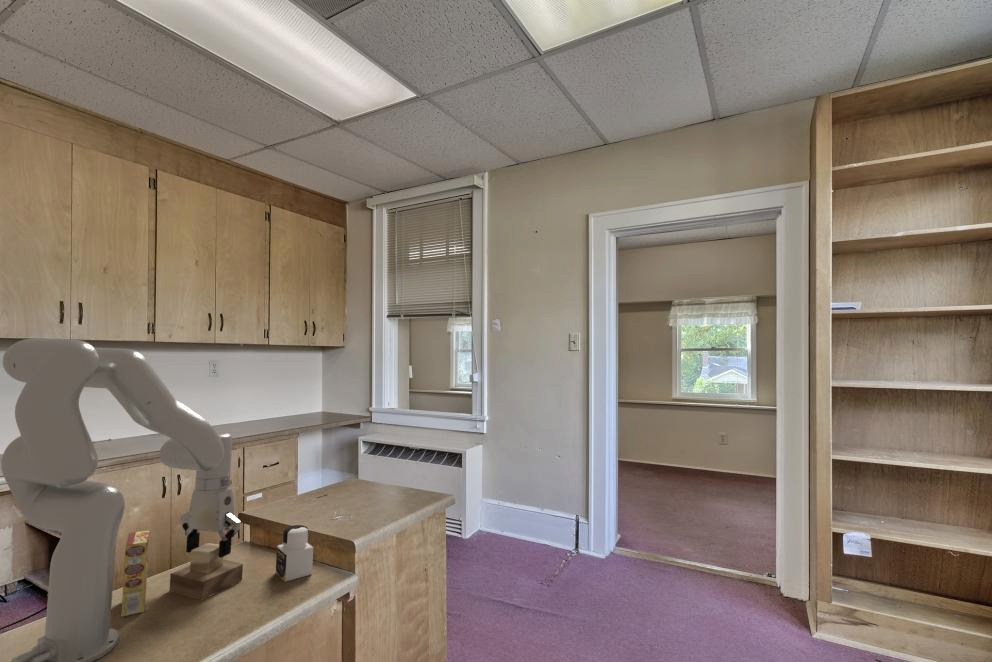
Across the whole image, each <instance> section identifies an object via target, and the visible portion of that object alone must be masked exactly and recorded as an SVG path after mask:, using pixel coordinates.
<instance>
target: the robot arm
mask: <svg viewBox="0 0 992 662" xmlns="http://www.w3.org/2000/svg"><path fill="white" fill-rule="evenodd" d="M2 367H3V368H4V369H3V370H4V371H5V373H6V374H7V375H8V376H9V377H10V378H12V379H14V380H16V381H18V382H21V383H24V387H23V388H22V390H21V392H20V393H19V395H18V397H17V400H16V403H15V407H14V417H15V418H14V419H15V422H16V426H17V428H18V431H19V434H20V435H19V436H18V437H16V438H15V439H13V440H12V441H11V442H10V443H9V444H8V446H7V447H6V448H5V450H4V452H3V454H2V456H1V460H0V461H1V463H0V464H1V466H0V467H1V472H2V474H3V478H4V480H5V483H6V484H7V486H8V488H9V490H10V492H11V494H12V496H13V498H14V500H15V502H16V504H17V507H18V508H19V510H20V512H21V514H22V515H23V517H24V518H25V520H27V521H28V523H30V524H31V525H32V526H35V527H36V528H39V529H44V530H50V531H55V532H59V533H61V536H60V539H59V542H58V543H57V545H56V547H55V549H54V551H53V553H52V556H51V561H50V566H49V580H48V581H49V582H48V591H47V594H48V595H47V603H46V604H47V605H46V618H45V629H44V635H43V636H41V637H39V638H38V639H37V643H36V645H35V646H33V647H32V649H31V650H29V651H27V652H24V653H21V654H19V655H18V656H16V657H14V658H12V659H11V661H10V662H94V661H96V660H98V659H100V658H102V657H104V656H105V655H107V654H108V653H109V652H111V651H112V650H114V648H116V647H117V645H118V643H119V641H120V633H119V632H118V631H117V630H116V629H114V628H111V616H112V614H111V613H112V602H113V588H114V577H115V576H114V575H115V560H116V548H117V542H118V541H117V539H118V535H119V529H120V525H121V524H122V519H123V517H124V513H125V509H126V501H125V497H124V495H123V493H122V492H121V491H120V490H119V489H118V488H117V487H115V486H113V485H111V484H109V483H106V482H105V483H104V482H101V481H94V480H93V481H92V480H88V479H90V478H91V477H92V476H93V475H94V474H95V472H96V470H97V468H98V463H99V457H98V453H97V451H96V448H95V445H94V442H93V441H92V438H91V435H90V433H89V431H88V429H87V426H86V424H85V422H84V419H83V416H82V412H81V411H80V409H81V408H80V397H81V394H82V392H83V390H84V388H93V389H94V388H96V389H106V390H107V391H108V392H110V394H111V395H112V396H113V397H114V398H115V399H116V400H117V402H118V403H119V404H120V405H121V407H122V408H123V409H124V410H125V412H126V413H127V414H128V415H129V417H131V419H132V420H133V422H135V424H137V425H140V426H141V427H144V428H145V429H148V430H149V431H152V432H155V433H158V434H161V435H162V436H166V437H167V438H170V439H168V440H166V441H165V442H164V443H163V444H162V446H161V447H160V448H159V449H160V450H159V453H158V456H159V460H160V461H161V463H162V464H163V465H164V466H166V467H168V468H171V469H179V470H187V471H189V470H190V471H195V483H194V488H193V491H192V494H191V497H190V503H189V509H188V510H189V511H187V512H186V513H183V514H182V515H180V522H181V524H182V529H183V530H184V535H185V536H186V545H185V546H186V547H185V548H186V551H185V552H186V553H191V550H193V549H195V548H198V547H200V531H201V532H202V531H203V532H212V533H217V534H218V535H219V537H220V539H221V540H220V541H219V543H218V544H219V557H220V558H222V557H223V558H224V557H226V556H228V555H230V554H231V552H232V539H233V538H234V537H235V535H236V534H237V533H238V532H239V529H240V528H241V525H242V521H241V520H240V519H239V518H237V517H236V515H235V497H234V491H233V488H232V487H230V486H232V484H233V481H232V479H231V466H232V452H233V451H232V450H233V449H232V448H233V436H232V434H230V433H228V432H222V431H221V432H219V431H218V432H216V430H215V429H214V427H213V426H212V425H211V424H210V423H209V421H207V420H206V419H204V418H203V417H202V416H201V415H199V414H198V413H197V412H195V411H194V410H193V409H191V408H190V407H188V406H187V405H185V404H184V403H182V402H181V401H179V400H177V399H176V398H175V397H174V395H173V394H172V393H171V392H170V390H169V389H168V387H167V386H166V384H165V383H164V381H163V380H162V379H161V377H160V376H159V375H158V373H157V372H156V370H154V368H153V366H152V365H151V364H150V362H149V361H148V360H147V358H146V357H145V356H144V355H143V354H142V353H140V352H139V351H137V350H136V349H135V350H134V349H130V348H120V347H119V348H117V347H116V348H114V347H113V348H112V347H94V346H93V345H92V344H90V343H89V342H86V341H84V340H80V339H75V338H74V339H73V338H43V337H42V338H41V337H40V338H37V337H36V338H33V337H32V338H26V339H21V340H20V341H17V342H14V343H13V344H11V345H10V346H9V347H8V348H7V349H6V351H5V352H4V353H3V357H2Z"/></svg>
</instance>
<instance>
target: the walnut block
mask: <svg viewBox="0 0 992 662" xmlns="http://www.w3.org/2000/svg"><path fill="white" fill-rule="evenodd" d="M243 568H244V564H243V563H240V562H236V561H233V560H232V561H231V560H228V559H223V566H221V567H219V568H217V569H215V570H213V571H211V572H210V573H208V574H206V573H199V572H191V571H190V565H187V566H185V567H183V568H181V569H178V570H176V571H173V572H170V574H169V575H170V576H169V577H170V578H169V587H168V589H169V591H168V592H172V591H173V592H172V593H175V592H176V594H179V593H180V594H179V595H183V594H184V596H186V595H187V596H186V597H190V596H191V598H193V597H194V598H195V599H197V598H199V599H198V600H201V599H203V600H205V599H207V598H209V597H211V596H213V595H215V594H217V593H220V592H222V591H223V590H225V589H228V588H229V586H230V587H232V586H233V585H232V584H234V585H235V583H236V584H238V583H239V581H240V582H242V581H241V580H243V570H244V569H243ZM237 582H238V583H237ZM231 585H232V586H231ZM227 587H228V588H227ZM216 592H217V593H216ZM214 593H215V594H214ZM212 594H213V595H212ZM210 595H211V596H210ZM208 596H209V597H208ZM206 597H207V598H206ZM204 598H205V599H204Z"/></svg>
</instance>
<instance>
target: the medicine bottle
mask: <svg viewBox="0 0 992 662" xmlns="http://www.w3.org/2000/svg"><path fill="white" fill-rule="evenodd" d="M282 535H283V536H282V537H283V538H282V544H278V545H277V546H276V558H275V574H276V575H278V577H279V578H281V580H282V581H284V582H290V581H293V580H297V579H300V578H304V577H307V576H310V575H312V574H313V562H314V559H313V558H314V546H312V544H309V543H308V539H309V528H308V526H305V525H303V524H296V525H295V524H294V525H291V526H288V527H286V528H284V530H283V534H282Z"/></svg>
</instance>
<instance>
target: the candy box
mask: <svg viewBox="0 0 992 662" xmlns="http://www.w3.org/2000/svg"><path fill="white" fill-rule="evenodd" d="M149 543H150V530H142V531H141V530H140V531H134V532H130V533H128V536H127V540H126V544H125V547H124V561H123V562H124V563H123V564H124V566H123V579H122V582H123V583H122V598H121V599H122V600H121V613H120V617H128V616H131V615H136V614H140V613H141V614H142V613H144V610H145V606H146V605H145V603H146V597H147V595H146V594H147V585H148V584H147V581H148V566H149V565H148V563H149V549H150V548H149V546H150V545H149Z"/></svg>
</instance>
